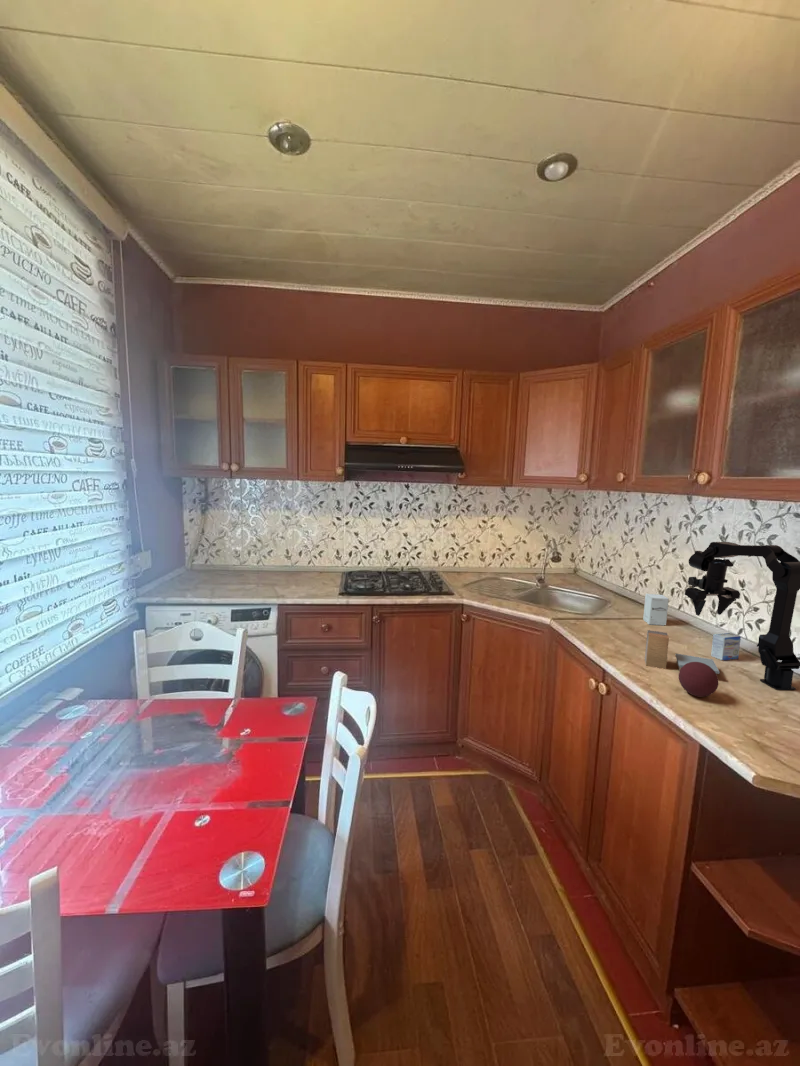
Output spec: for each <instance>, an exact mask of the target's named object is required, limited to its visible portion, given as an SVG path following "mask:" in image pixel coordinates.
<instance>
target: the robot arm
mask: <svg viewBox="0 0 800 1066" xmlns="http://www.w3.org/2000/svg"><path fill="white" fill-rule="evenodd" d="M740 556H741V557H742V556H744V557H762V558H763V559H764V562H765V565H766V567H767V568H768V569H769V570H770V571H771V572H772V582H773V584H774V586H775V588H776V590H775V595H774V596H775V597H774V601H773V607H772V611H771V618H770V622H769V628H768V631H767V633H766V634H759V636H758V643H757V645H756V647H758V648H757V649H758V653H759V657H760V663H761V665H762V666H764V667H765V668H764V675H763V676H764V677H763V678H760V679H759V681H760V682H761V683H764V684H766V685H767V686H769V687H771V688H772V689H775V690H779V691H781V690H782V691H785V690H787V691H789V690H796V691H797V687H795V686H794V685H792V684H793V676H794V670H798V669H800V660H799V659H798V657H797V656H796V654H795V653H794V643H793V641H792V639H791V637H790V633H791V632H790V631H791V627H792V622H793V616H794V612H795V605H796V601H797V597H798V596H797V595H798V592H799V590H800V560H799V559H798V558H797V557H795V556H794V555H792V554H790V553H788V552H787V551H785V549H783V548H782V547H781V546H779V545H778V544H769V545H768V544H766V545H765V544H764V545H758V544H757V545H753V544H752V545H751V544H750V545H748V544H747V545H745V544H744V545H742V544H738V543H735V542H730V541H712V542H710V543H709V545H708V547H706V548H705V550H703V551H702V550H694V553H693V554H692V555H691V556H690V557H689V559H688V565H689V566H690V567H691V568H693V569H697V570H700V571H702V572H706V574H705V575H703V576H702V577H701V578H697V577H696V576H688V580H687V584H688V585H689V586H691V587H687V588H686V589H685V590H684V595H685V596H687V598H689V599H690V600H691V601H692V603H693V606H694V611H695V612H694V613H695V614H696V616H698V617H699V616H700V615H701V613H702V611H703V609H704V606H705V605H706V602H707V600H706V599H707V597H713V596H715V597H717V598H718V603H717V611H716V612H717V615H719V616H721V615H722V614H723V613H724V612H725V611H726V610H727V608H728V607H730V606H731V604H733V603H734V602H736V601H737V599H740V598H741V592H740V591H739V590H737V589H735V588H733V587H730V586H724V585H725V583H728V581H729V580H728V579H726V575H727V569H728V567H734V563H733V562H732V561H731V560H730V559H729V558H733V557H740ZM722 558H724V559H722Z"/></svg>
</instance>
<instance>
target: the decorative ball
mask: <svg viewBox="0 0 800 1066" xmlns="http://www.w3.org/2000/svg"><path fill="white" fill-rule="evenodd" d="M678 671H679V670H678ZM678 681H679V684H680V686H681V687H682V688H683V689H684V690H685V691H686V692H687V693H688V694H691V695H692V696H695V697H698V698H699V697H701V698H703V697H704V698H705V697H709V696H711V695H712V694H714V693H715V692H716V691H717V689H718V688H719V676H718V674H716V673H715V671H714V670H713V669H712V668H711V667H710V666H708V665H706V664H704V663H701V662H690V663H687V664H685V665H684V666H683V667H682V668H681V669H680V671H679V672H678Z"/></svg>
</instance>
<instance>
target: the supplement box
mask: <svg viewBox="0 0 800 1066" xmlns="http://www.w3.org/2000/svg"><path fill="white" fill-rule="evenodd" d="M669 601H670V598H668V597H667V596H665V595H664V594H656V593H655V594H654V593H645V597H644V606H643V617H642V620H643V621H644V622H647V623H646V624H647V625H652V626H653V625H655V626H656V625H657V626H664V625H667V619H668V609H669Z"/></svg>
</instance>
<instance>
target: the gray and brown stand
mask: <svg viewBox="0 0 800 1066" xmlns="http://www.w3.org/2000/svg"><path fill="white" fill-rule="evenodd" d="M675 657H676V658H675V659H676V666H677V669H678V671H680V669H681V668H682V667H683V666H684V665H685V664H687V663H690V662H701V663H704V664H706V665H708V666H710V667H711V668H712V669H713V670H714V671H715V673H716V674H717V675H719V674H720V670H719V668H718V666H717V664H716V663H715V661H714V659H713V658H706V657H702V656H701V657H699V656H693V655H688V654H681V653H675Z"/></svg>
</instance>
